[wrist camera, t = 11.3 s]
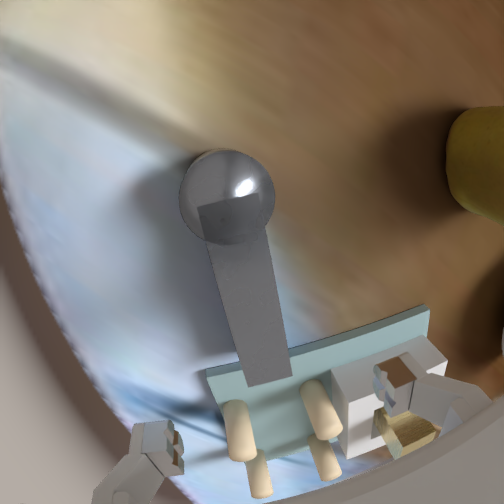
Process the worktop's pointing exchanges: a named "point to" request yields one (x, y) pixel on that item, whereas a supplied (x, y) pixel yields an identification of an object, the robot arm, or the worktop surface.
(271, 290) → the grey lever handle
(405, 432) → the wooden bar
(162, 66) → the worktop surface
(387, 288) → the worktop surface
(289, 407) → the jig plate
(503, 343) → the cereal bowl
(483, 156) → the mug
